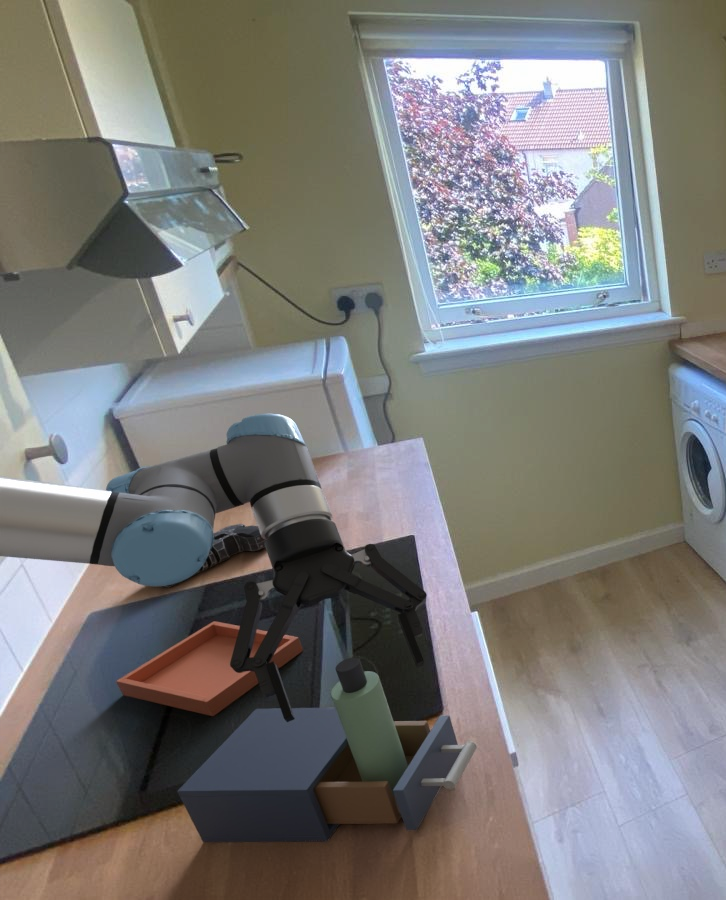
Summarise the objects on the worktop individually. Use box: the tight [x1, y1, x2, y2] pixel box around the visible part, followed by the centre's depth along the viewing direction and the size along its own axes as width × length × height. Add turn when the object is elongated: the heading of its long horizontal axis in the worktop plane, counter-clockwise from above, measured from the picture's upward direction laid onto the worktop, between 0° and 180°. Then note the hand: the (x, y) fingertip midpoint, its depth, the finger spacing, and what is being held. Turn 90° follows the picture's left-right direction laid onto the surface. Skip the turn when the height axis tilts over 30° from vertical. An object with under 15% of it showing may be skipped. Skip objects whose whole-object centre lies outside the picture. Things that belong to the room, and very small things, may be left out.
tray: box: [115, 620, 304, 717], centre depth 111 cm, size 18×15×3 cm
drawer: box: [313, 714, 478, 831], centre depth 88 cm, size 18×11×6 cm, turn 89°
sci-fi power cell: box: [164, 523, 266, 588], centre depth 139 cm, size 4×19×10 cm
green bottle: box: [330, 656, 408, 795], centre depth 85 cm, size 5×5×18 cm
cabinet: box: [176, 707, 348, 843], centre depth 88 cm, size 15×13×8 cm
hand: (358, 690), depth 85 cm, fingers open, 13 cm apart
